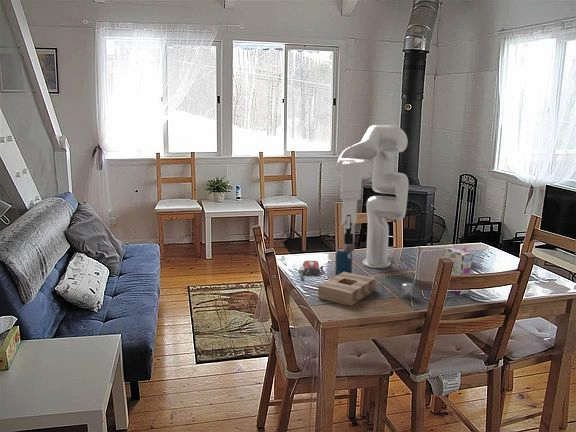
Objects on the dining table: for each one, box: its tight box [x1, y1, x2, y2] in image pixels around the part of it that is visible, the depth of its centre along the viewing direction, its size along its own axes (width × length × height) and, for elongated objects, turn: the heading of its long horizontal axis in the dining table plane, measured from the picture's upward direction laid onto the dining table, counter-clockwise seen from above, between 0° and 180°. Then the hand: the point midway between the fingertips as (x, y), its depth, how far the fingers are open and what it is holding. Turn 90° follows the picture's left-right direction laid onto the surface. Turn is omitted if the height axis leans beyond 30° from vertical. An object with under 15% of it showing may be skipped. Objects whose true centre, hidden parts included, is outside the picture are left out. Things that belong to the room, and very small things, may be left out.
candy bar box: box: [443, 246, 474, 296], centre depth 208 cm, size 11×5×16 cm, turn 22°
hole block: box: [317, 272, 376, 307], centre depth 204 cm, size 20×14×5 cm
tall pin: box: [342, 222, 356, 252], centre depth 200 cm, size 4×4×11 cm
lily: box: [461, 244, 472, 252], centre depth 243 cm, size 12×12×10 cm
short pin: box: [401, 282, 414, 300], centre depth 202 cm, size 4×4×5 cm
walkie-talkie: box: [298, 260, 321, 280], centre depth 229 cm, size 9×4×20 cm
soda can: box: [334, 247, 353, 276], centre depth 223 cm, size 7×7×12 cm
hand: (348, 241), depth 200 cm, fingers closed on tall pin, 4 cm apart
